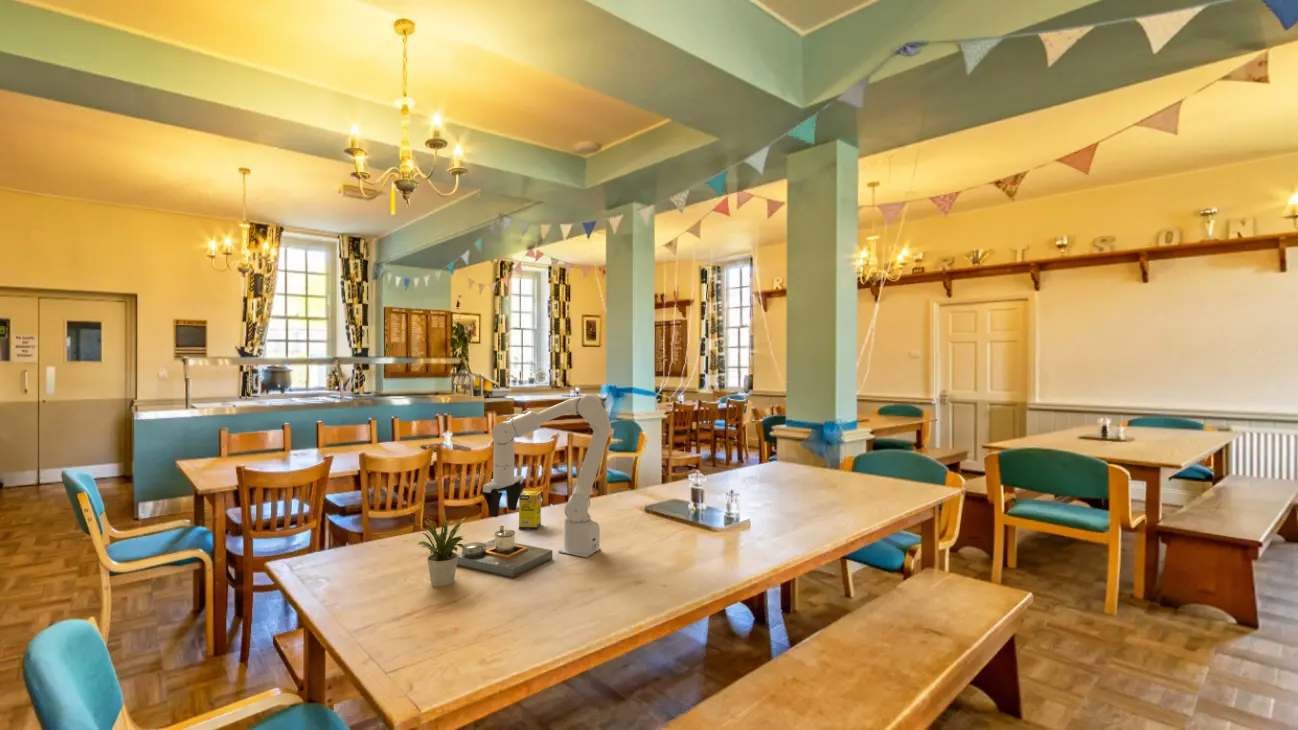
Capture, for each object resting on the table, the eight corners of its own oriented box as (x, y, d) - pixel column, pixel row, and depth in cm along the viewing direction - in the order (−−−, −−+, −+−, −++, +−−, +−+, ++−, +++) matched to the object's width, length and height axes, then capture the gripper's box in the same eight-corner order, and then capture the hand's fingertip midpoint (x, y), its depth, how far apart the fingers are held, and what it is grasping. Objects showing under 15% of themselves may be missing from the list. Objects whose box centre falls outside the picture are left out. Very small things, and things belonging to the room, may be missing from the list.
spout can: (518, 558, 157) (519, 526, 157) (504, 563, 153) (504, 530, 153) (505, 554, 160) (505, 523, 160) (490, 560, 156) (490, 527, 156)
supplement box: (537, 529, 185) (537, 495, 184) (518, 529, 185) (518, 494, 185) (541, 524, 191) (541, 490, 190) (522, 524, 191) (523, 490, 191)
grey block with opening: (552, 559, 158) (552, 542, 158) (513, 578, 144) (513, 560, 144) (494, 547, 167) (494, 532, 167) (452, 564, 153) (452, 548, 153)
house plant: (400, 597, 132) (401, 525, 131) (408, 575, 145) (409, 509, 145) (467, 592, 136) (467, 521, 135) (469, 570, 149) (469, 506, 149)
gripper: (509, 459, 173) (508, 505, 173) (474, 467, 160) (474, 517, 160) (528, 461, 170) (528, 508, 170) (495, 470, 157) (494, 520, 157)
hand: (503, 513), depth 165 cm, fingers open, 7 cm apart
